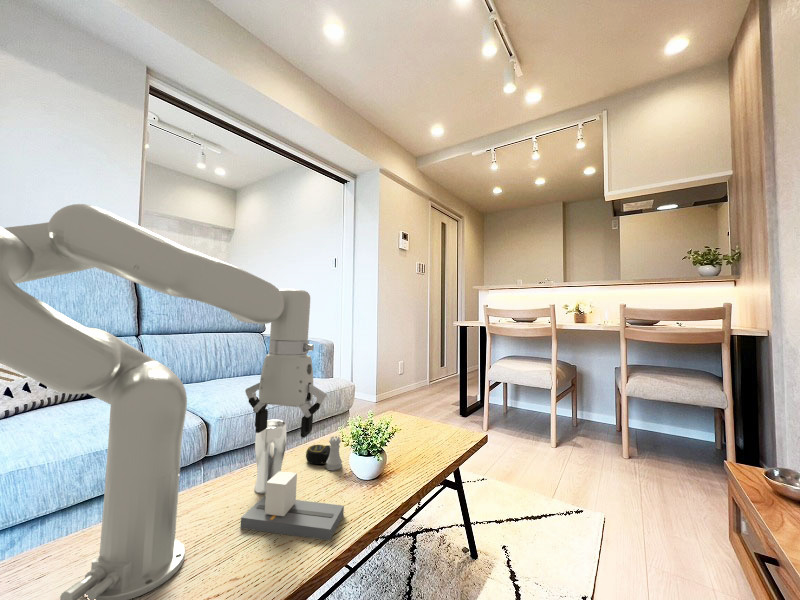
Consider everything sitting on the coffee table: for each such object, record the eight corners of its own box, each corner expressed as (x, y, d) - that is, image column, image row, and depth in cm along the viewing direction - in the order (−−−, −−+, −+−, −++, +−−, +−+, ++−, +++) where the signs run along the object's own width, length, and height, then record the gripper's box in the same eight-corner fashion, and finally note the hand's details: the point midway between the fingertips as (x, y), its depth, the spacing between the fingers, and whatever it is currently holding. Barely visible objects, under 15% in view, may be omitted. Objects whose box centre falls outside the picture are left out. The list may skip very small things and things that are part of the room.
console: (329, 540, 62) (330, 528, 62) (240, 528, 64) (241, 517, 64) (343, 515, 70) (343, 505, 70) (263, 505, 72) (263, 495, 72)
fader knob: (283, 516, 65) (285, 484, 65) (264, 513, 65) (266, 482, 66) (295, 502, 70) (297, 472, 70) (277, 500, 70) (279, 471, 71)
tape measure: (327, 467, 92) (328, 453, 92) (302, 466, 92) (303, 452, 92) (332, 456, 99) (332, 444, 99) (309, 456, 99) (309, 443, 99)
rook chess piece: (338, 472, 89) (339, 441, 89) (322, 470, 90) (324, 439, 90) (344, 465, 93) (345, 435, 94) (329, 463, 94) (331, 434, 95)
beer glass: (290, 484, 81) (293, 422, 82) (267, 498, 75) (271, 430, 76) (268, 478, 84) (272, 417, 85) (245, 490, 78) (249, 425, 79)
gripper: (334, 349, 72) (330, 431, 71) (260, 345, 74) (254, 423, 73) (321, 352, 64) (316, 443, 63) (239, 347, 67) (232, 435, 66)
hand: (283, 433), depth 68 cm, fingers open, 9 cm apart
